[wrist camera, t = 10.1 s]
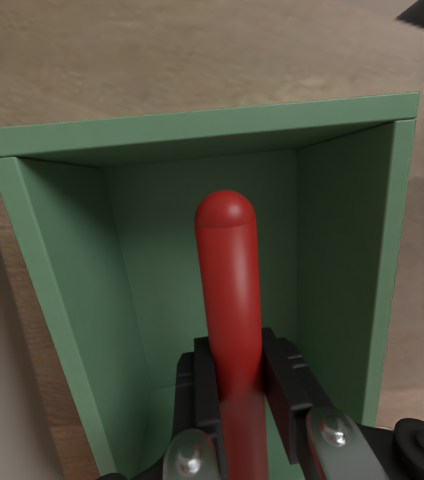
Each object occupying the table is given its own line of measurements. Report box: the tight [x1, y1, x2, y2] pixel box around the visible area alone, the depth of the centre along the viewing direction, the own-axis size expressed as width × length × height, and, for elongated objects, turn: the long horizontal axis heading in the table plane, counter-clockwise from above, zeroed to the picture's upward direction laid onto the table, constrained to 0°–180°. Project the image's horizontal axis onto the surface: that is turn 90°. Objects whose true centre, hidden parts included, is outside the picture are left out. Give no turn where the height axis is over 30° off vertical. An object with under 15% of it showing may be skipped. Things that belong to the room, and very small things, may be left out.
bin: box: [0, 92, 420, 480], centre depth 13 cm, size 19×14×8 cm
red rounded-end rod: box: [194, 190, 269, 480], centre depth 9 cm, size 2×14×2 cm, turn 5°
